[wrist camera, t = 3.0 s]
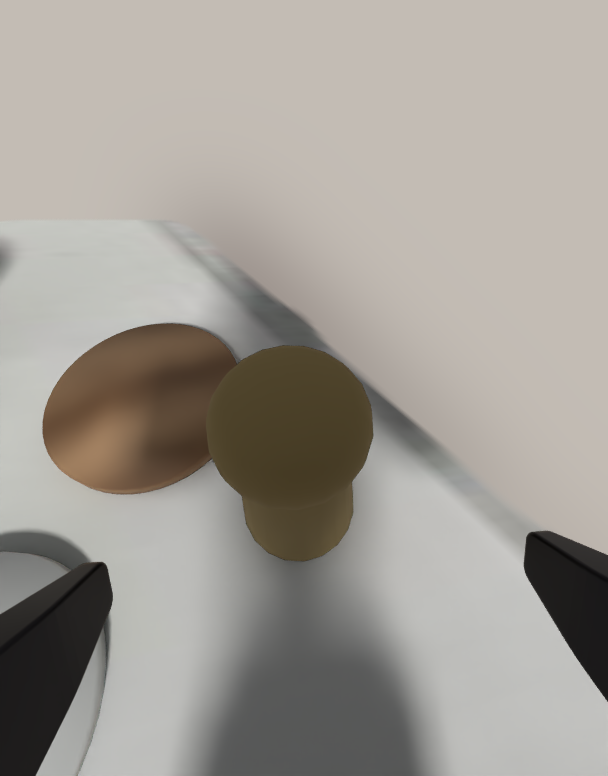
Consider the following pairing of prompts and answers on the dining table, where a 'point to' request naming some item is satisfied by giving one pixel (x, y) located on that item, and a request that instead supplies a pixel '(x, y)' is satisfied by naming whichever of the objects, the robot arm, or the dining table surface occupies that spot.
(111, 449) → the walnut trivet
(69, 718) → the grey round disc
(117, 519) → the dining table surface
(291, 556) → the olive chess pawn
